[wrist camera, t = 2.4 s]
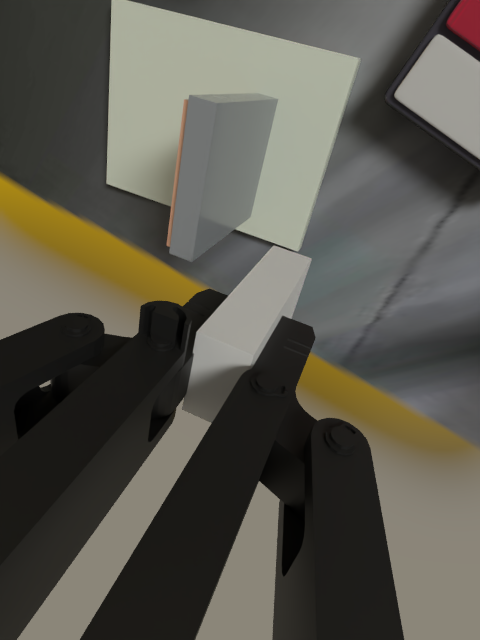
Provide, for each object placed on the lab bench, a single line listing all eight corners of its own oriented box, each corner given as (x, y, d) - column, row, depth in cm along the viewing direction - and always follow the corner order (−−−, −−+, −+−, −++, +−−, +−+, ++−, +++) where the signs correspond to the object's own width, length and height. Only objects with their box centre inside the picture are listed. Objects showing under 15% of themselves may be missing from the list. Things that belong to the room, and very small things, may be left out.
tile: (278, 98, 29) (217, 103, 20) (250, 217, 34) (191, 261, 25) (253, 91, 30) (182, 93, 21) (229, 209, 35) (163, 251, 26)
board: (361, 59, 28) (359, 58, 27) (301, 247, 35) (297, 251, 34) (121, -1, 31) (111, -4, 30) (114, 181, 39) (106, 183, 38)
